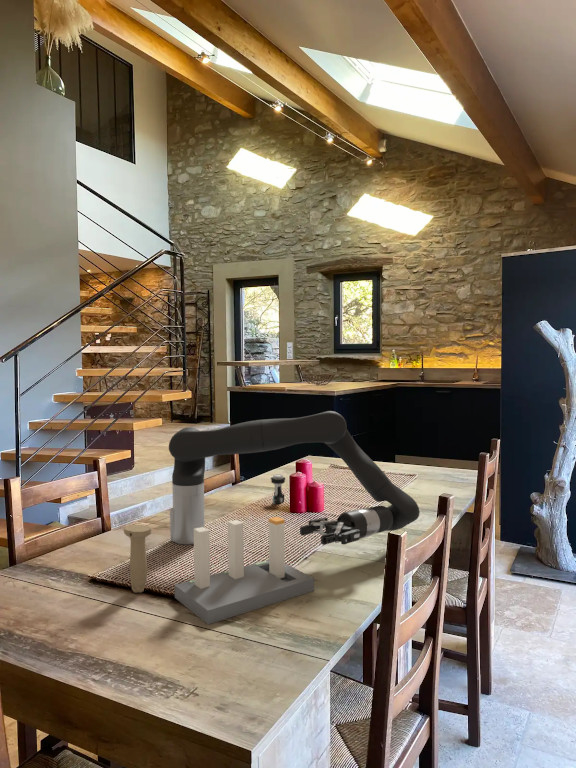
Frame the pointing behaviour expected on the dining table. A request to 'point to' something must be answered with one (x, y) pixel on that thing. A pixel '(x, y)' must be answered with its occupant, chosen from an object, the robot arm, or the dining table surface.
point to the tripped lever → (276, 547)
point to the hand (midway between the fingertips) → (311, 535)
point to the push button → (278, 488)
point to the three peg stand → (235, 581)
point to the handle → (138, 555)
